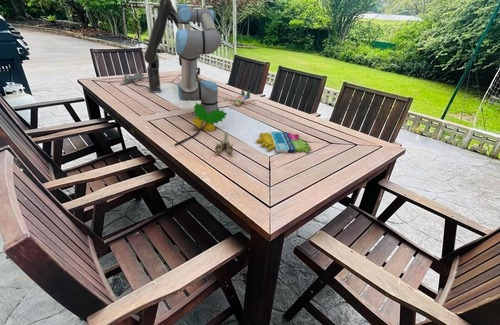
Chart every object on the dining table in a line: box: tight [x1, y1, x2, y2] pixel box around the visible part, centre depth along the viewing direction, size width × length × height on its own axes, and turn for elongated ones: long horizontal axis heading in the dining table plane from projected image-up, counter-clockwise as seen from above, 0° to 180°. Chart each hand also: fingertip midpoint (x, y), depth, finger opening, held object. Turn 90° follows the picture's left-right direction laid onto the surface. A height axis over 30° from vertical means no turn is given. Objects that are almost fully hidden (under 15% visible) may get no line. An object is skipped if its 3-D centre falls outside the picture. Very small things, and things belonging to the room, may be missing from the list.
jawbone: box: [214, 131, 234, 156], centre depth 136 cm, size 9×15×10 cm
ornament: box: [191, 101, 228, 132], centre depth 162 cm, size 21×8×15 cm, turn 105°
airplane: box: [119, 66, 148, 86], centre depth 257 cm, size 38×31×10 cm
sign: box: [256, 131, 312, 154], centre depth 152 cm, size 26×2×30 cm
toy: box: [223, 89, 257, 106], centre depth 219 cm, size 28×7×30 cm
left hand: (193, 80), depth 236 cm, fingers open, 6 cm apart
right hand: (186, 64), depth 186 cm, fingers open, 13 cm apart
